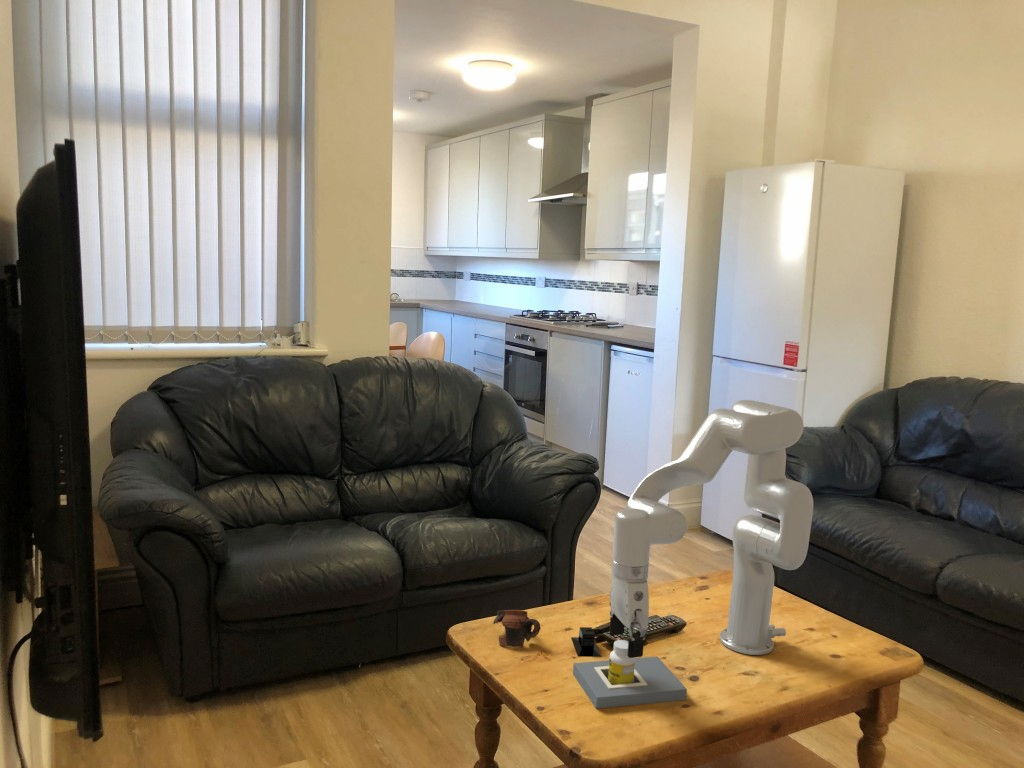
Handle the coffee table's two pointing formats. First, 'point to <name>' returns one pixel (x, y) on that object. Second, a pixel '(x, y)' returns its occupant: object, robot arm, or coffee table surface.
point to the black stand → (586, 643)
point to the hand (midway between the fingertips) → (625, 645)
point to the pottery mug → (516, 627)
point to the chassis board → (646, 688)
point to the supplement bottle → (621, 664)
